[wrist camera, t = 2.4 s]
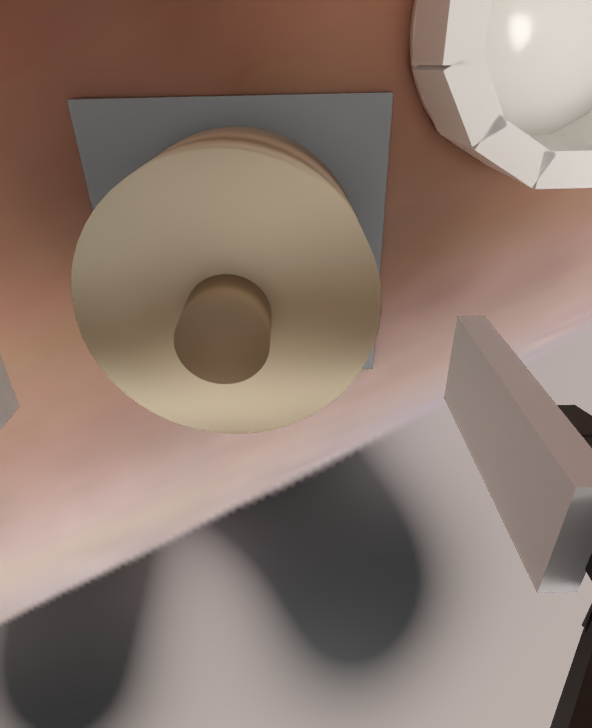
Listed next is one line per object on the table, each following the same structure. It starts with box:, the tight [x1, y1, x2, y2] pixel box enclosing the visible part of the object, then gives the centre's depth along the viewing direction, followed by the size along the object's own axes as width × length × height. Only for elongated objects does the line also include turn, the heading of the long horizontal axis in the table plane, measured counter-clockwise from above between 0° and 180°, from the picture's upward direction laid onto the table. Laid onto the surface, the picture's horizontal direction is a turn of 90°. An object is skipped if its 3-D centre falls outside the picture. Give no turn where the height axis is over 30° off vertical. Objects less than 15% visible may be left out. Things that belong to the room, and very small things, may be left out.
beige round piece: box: [71, 126, 382, 434], centre depth 18 cm, size 10×10×8 cm
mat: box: [67, 92, 393, 369], centre depth 21 cm, size 12×12×1 cm
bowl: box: [409, 0, 592, 189], centre depth 15 cm, size 9×9×5 cm
